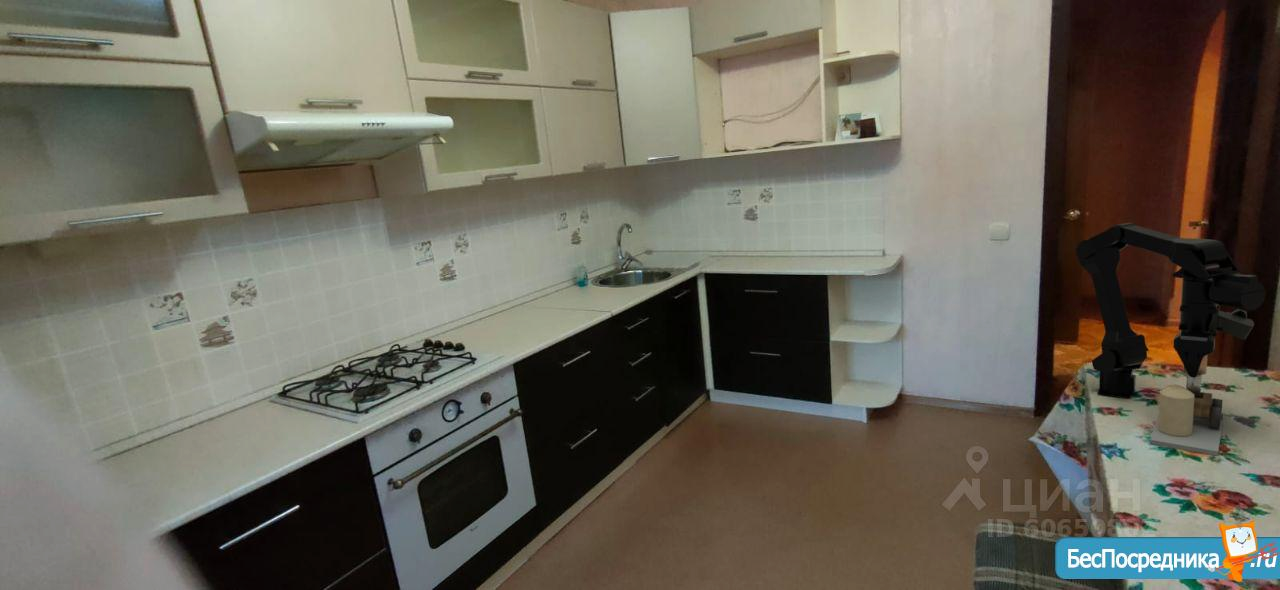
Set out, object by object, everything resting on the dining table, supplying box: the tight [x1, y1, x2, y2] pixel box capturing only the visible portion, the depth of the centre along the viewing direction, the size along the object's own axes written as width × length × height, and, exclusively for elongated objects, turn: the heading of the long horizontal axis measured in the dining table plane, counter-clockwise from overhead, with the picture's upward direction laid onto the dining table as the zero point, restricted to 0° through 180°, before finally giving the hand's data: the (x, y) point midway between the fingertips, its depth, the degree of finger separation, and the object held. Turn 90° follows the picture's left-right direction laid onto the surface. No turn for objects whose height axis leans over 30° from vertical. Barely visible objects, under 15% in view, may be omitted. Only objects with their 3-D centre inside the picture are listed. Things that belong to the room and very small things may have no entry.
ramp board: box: [1149, 412, 1224, 457], centre depth 133 cm, size 10×18×2 cm, turn 135°
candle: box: [1158, 384, 1194, 436], centre depth 132 cm, size 6×6×10 cm
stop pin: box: [1182, 354, 1209, 396], centre depth 135 cm, size 4×4×9 cm
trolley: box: [1193, 391, 1224, 429], centre depth 136 cm, size 9×9×5 cm
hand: (1194, 370), depth 135 cm, fingers open, 9 cm apart
